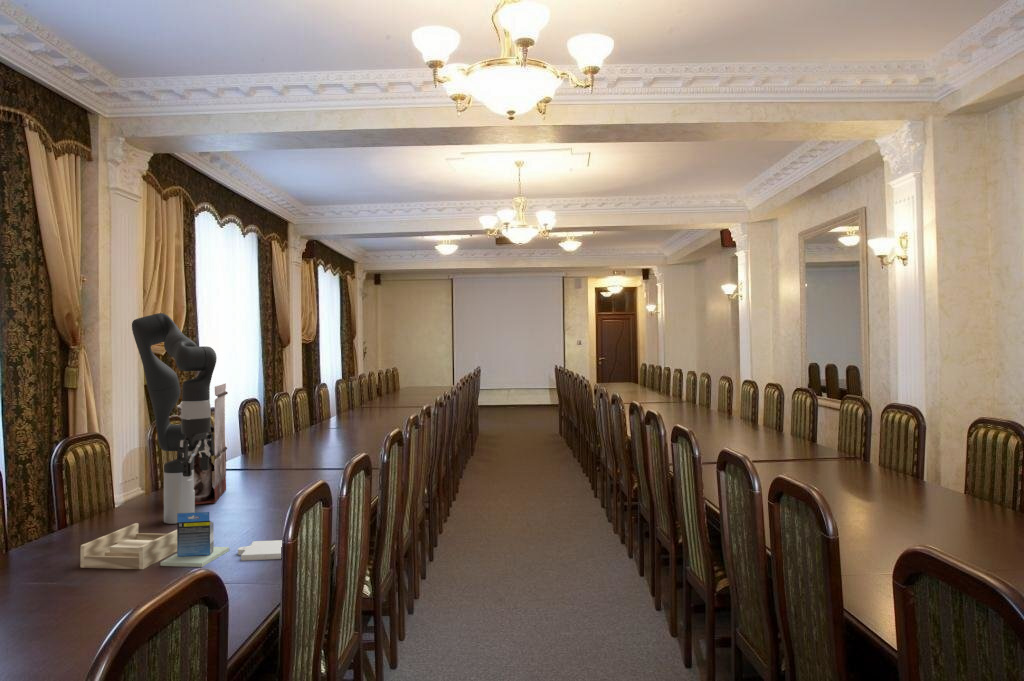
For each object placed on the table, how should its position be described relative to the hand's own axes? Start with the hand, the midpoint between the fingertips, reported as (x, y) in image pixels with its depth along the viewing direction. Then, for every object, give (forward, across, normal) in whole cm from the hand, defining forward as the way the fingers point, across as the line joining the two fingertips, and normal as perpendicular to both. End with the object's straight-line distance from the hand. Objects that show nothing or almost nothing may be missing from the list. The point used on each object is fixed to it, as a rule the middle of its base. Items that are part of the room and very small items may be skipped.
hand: (196, 473), depth 181 cm
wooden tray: (+24, -1, -18) cm, 30 cm away
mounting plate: (+25, -6, +19) cm, 32 cm away
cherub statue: (+24, -68, -41) cm, 83 cm away
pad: (+24, 0, 0) cm, 24 cm away
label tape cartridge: (+23, 0, 0) cm, 23 cm away
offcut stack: (+24, +2, -18) cm, 30 cm away
